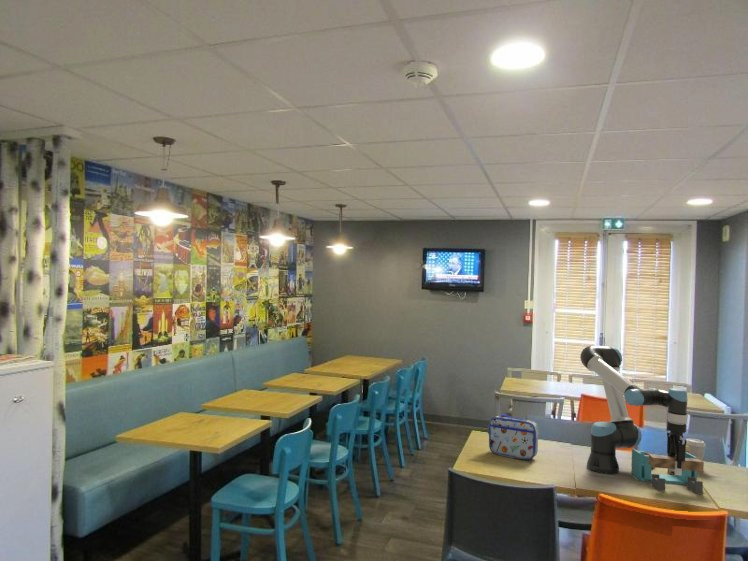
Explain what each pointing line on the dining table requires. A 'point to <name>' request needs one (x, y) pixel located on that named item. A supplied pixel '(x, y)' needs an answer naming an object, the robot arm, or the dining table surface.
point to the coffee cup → (696, 448)
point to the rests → (692, 484)
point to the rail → (670, 463)
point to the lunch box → (513, 437)
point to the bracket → (643, 473)
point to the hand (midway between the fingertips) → (675, 473)
